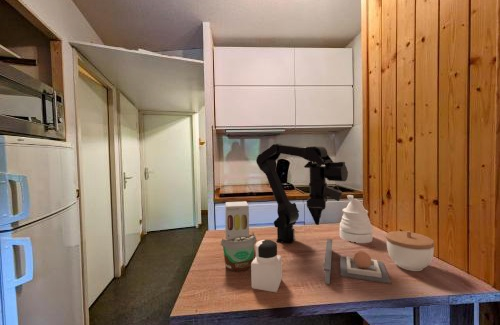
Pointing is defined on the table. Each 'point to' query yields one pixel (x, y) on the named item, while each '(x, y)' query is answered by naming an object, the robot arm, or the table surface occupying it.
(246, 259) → the food container
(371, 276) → the mat
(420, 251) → the lidded bowl
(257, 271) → the medicine bottle
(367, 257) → the ball
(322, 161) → the robot arm
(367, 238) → the honey pot
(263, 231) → the table surface
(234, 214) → the supplement box
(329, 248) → the gray fence
